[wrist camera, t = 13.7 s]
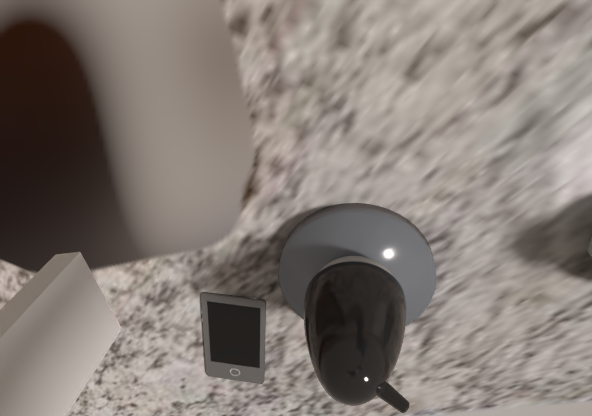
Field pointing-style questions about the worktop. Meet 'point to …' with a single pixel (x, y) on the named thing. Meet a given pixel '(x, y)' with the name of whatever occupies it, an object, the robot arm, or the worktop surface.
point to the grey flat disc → (358, 252)
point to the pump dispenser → (355, 330)
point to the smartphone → (234, 337)
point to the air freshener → (590, 248)
